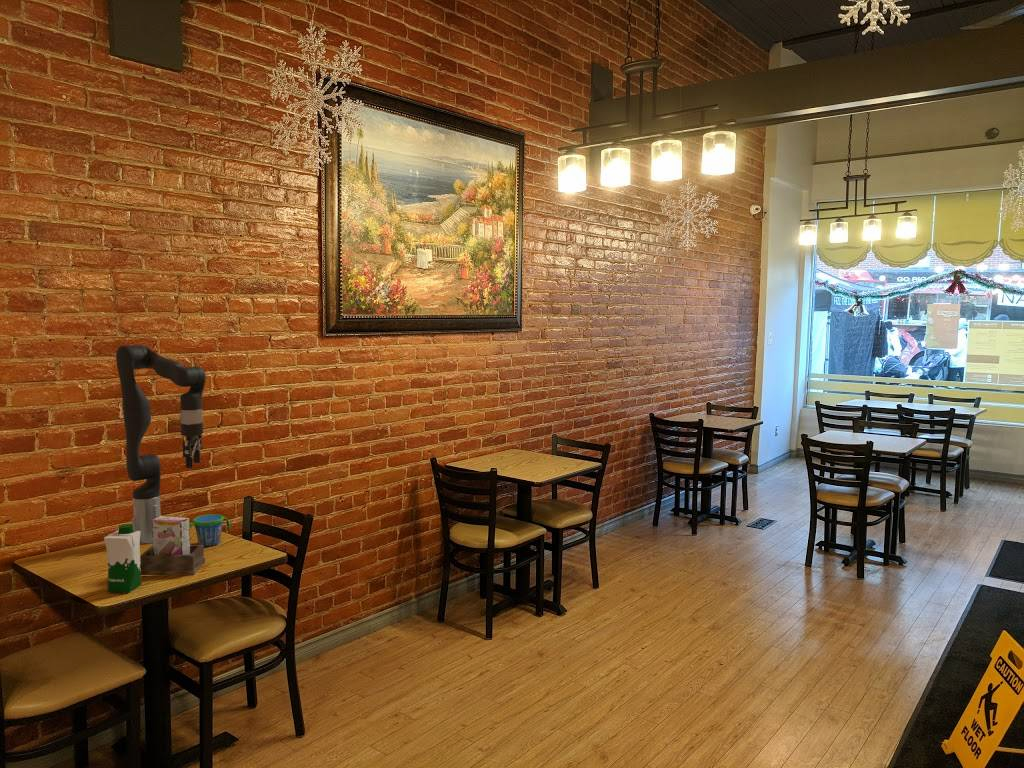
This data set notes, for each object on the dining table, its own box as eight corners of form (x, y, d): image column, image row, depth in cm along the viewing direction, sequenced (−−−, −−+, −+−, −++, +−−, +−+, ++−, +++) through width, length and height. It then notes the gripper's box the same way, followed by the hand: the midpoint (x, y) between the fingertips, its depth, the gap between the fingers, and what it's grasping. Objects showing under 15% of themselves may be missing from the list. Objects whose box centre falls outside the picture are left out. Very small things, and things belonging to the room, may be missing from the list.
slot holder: (138, 576, 243) (137, 557, 242) (151, 563, 255) (151, 545, 254) (194, 574, 245) (193, 555, 244) (205, 562, 257) (204, 544, 256)
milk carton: (145, 584, 237) (143, 524, 234) (129, 594, 228) (127, 532, 225) (119, 583, 237) (116, 523, 235) (102, 594, 228) (99, 531, 226)
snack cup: (191, 551, 268) (190, 524, 267) (184, 544, 276) (183, 518, 275) (234, 543, 277) (233, 517, 276) (226, 536, 286) (225, 511, 285)
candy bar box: (152, 566, 248) (150, 519, 246) (162, 561, 253) (160, 515, 251) (182, 568, 246) (181, 521, 245) (191, 563, 251) (189, 517, 250)
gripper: (187, 418, 271) (188, 461, 272) (174, 424, 257) (175, 469, 258) (208, 418, 272) (209, 461, 273) (196, 424, 257) (197, 469, 259)
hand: (193, 465), depth 266 cm, fingers open, 8 cm apart
